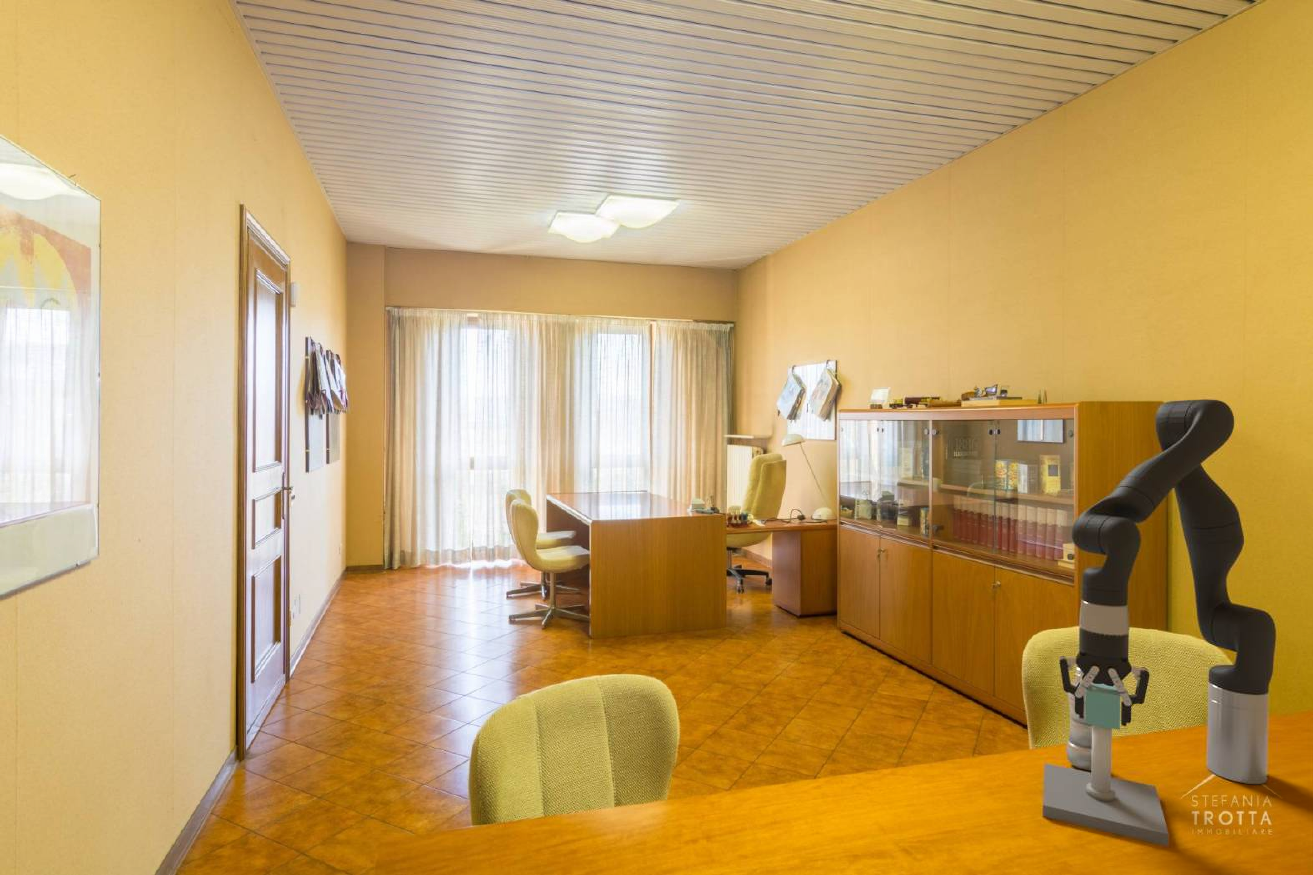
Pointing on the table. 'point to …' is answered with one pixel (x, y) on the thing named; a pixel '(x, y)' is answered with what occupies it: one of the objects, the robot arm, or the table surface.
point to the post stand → (1103, 797)
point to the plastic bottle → (1079, 733)
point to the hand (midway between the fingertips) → (1102, 720)
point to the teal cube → (1102, 706)
